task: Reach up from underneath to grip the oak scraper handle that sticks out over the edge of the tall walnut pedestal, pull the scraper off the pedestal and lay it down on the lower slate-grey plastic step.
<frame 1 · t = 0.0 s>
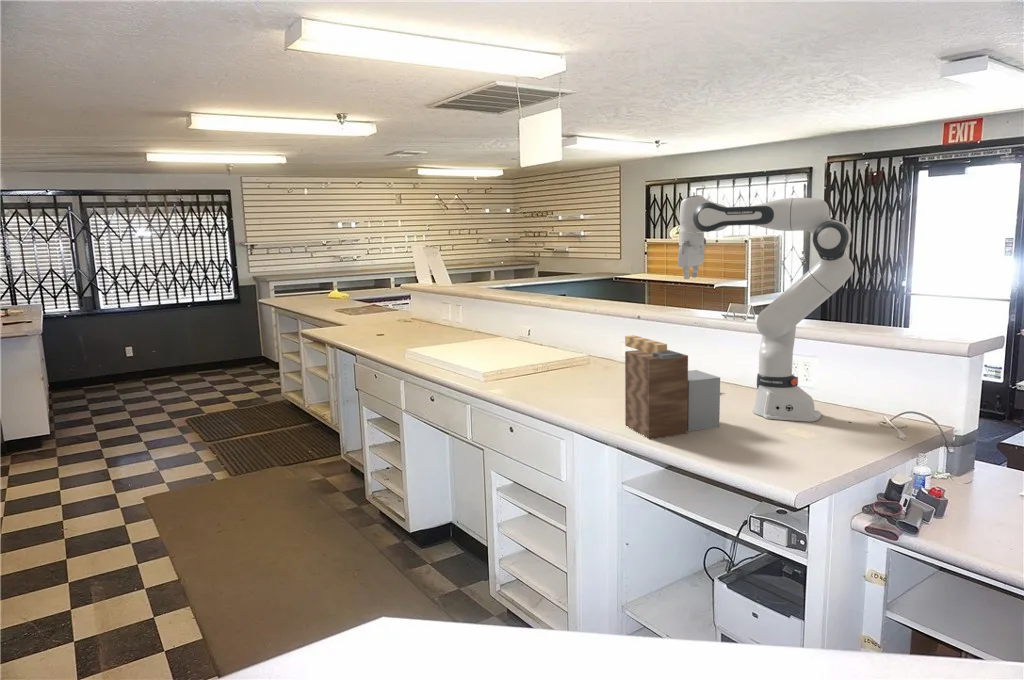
hand: (690, 278, 246), 48 cm above the countertop, tool pointing down, fingers open, 8 cm apart
pedestal: (655, 429, 221), on the countertop
scraper: (649, 351, 221), point 26 cm above the countertop, touching pedestal
step: (692, 423, 227), on the countertop
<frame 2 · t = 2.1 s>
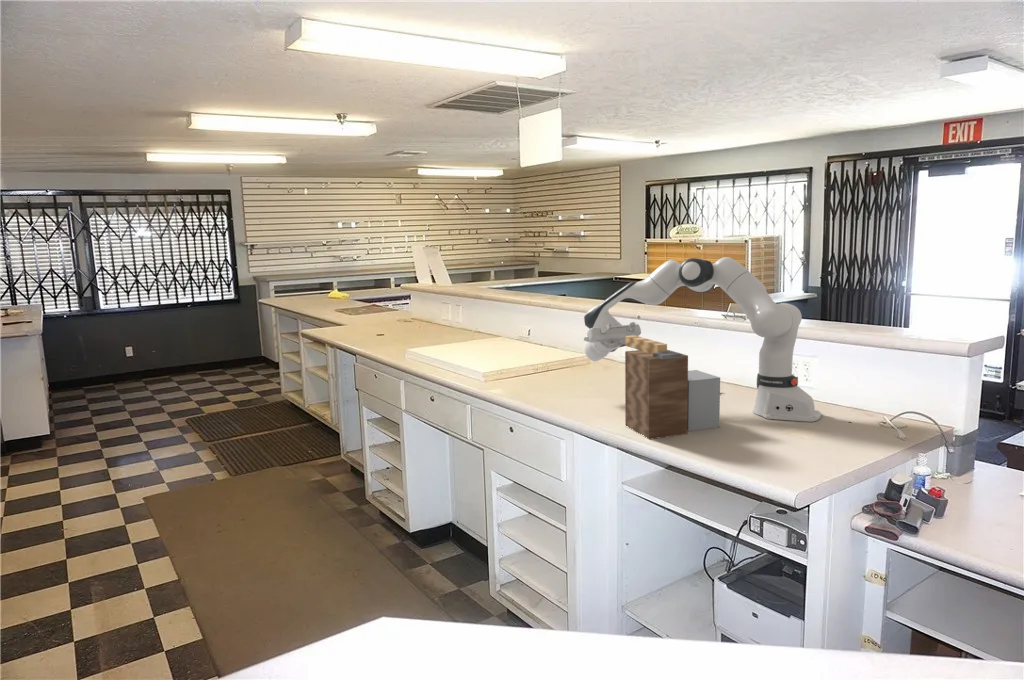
hand: (622, 325, 238), 33 cm above the countertop, tool pointing upward, fingers open, 8 cm apart
nothing on the countertop moved.
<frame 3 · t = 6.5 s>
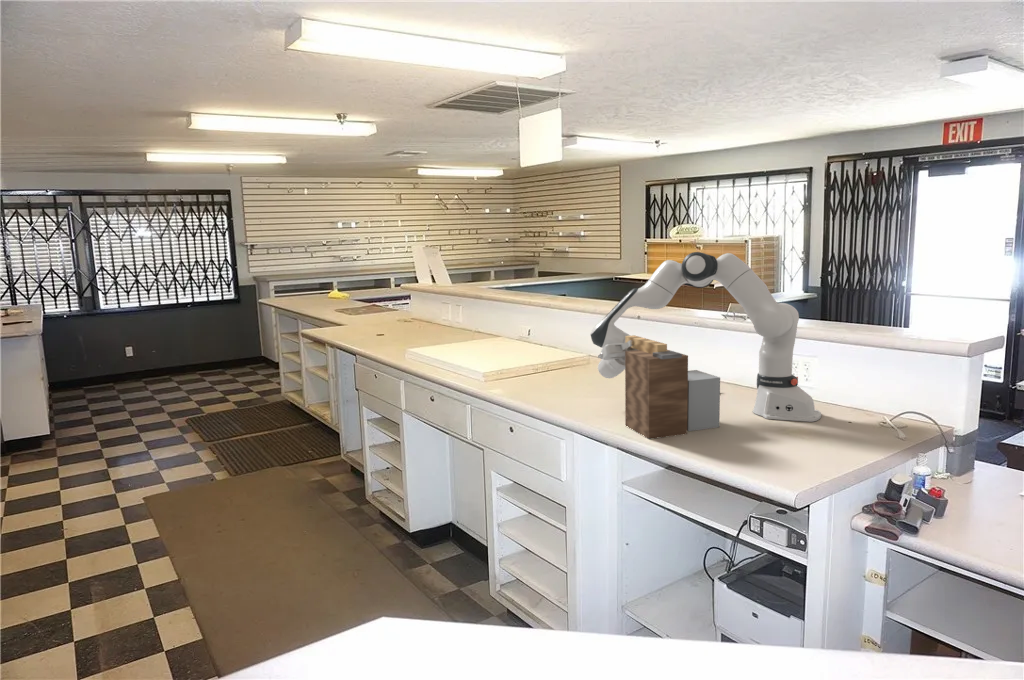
hand: (638, 341, 228), 28 cm above the countertop, tool pointing upward, fingers closed on scraper, 3 cm apart
scraper: (649, 351, 221), point 26 cm above the countertop, touching gripper, pedestal
everything else where it was.
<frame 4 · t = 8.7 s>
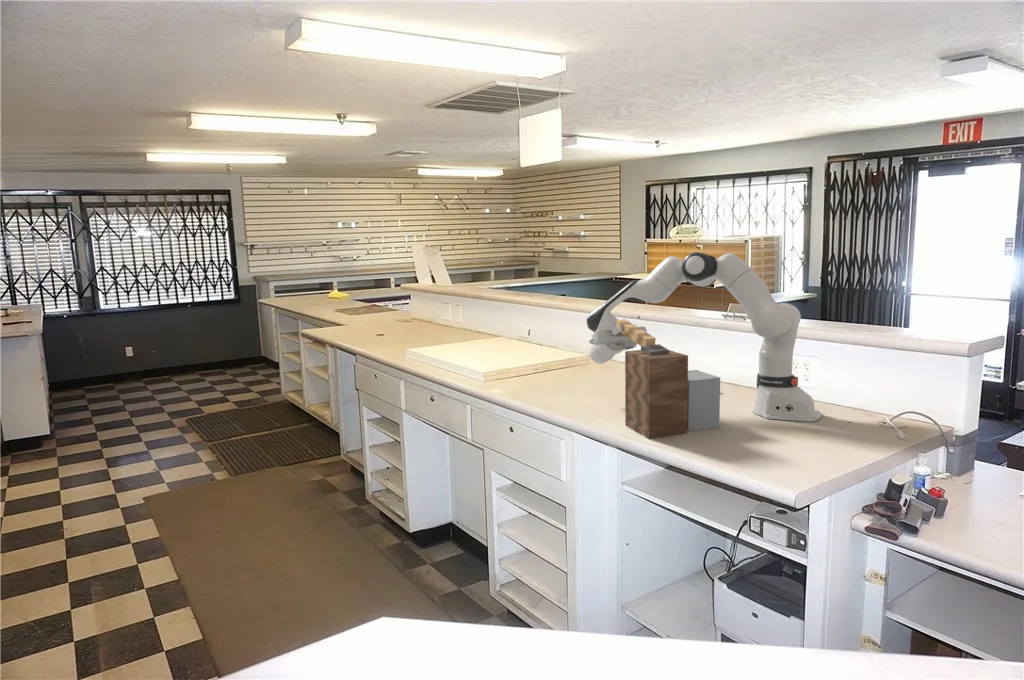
hand: (628, 327, 234), 32 cm above the countertop, tool pointing upward, fingers closed on scraper, 3 cm apart
scraper: (638, 340, 227), point 29 cm above the countertop, tilted 10°, touching gripper
everything else where it was.
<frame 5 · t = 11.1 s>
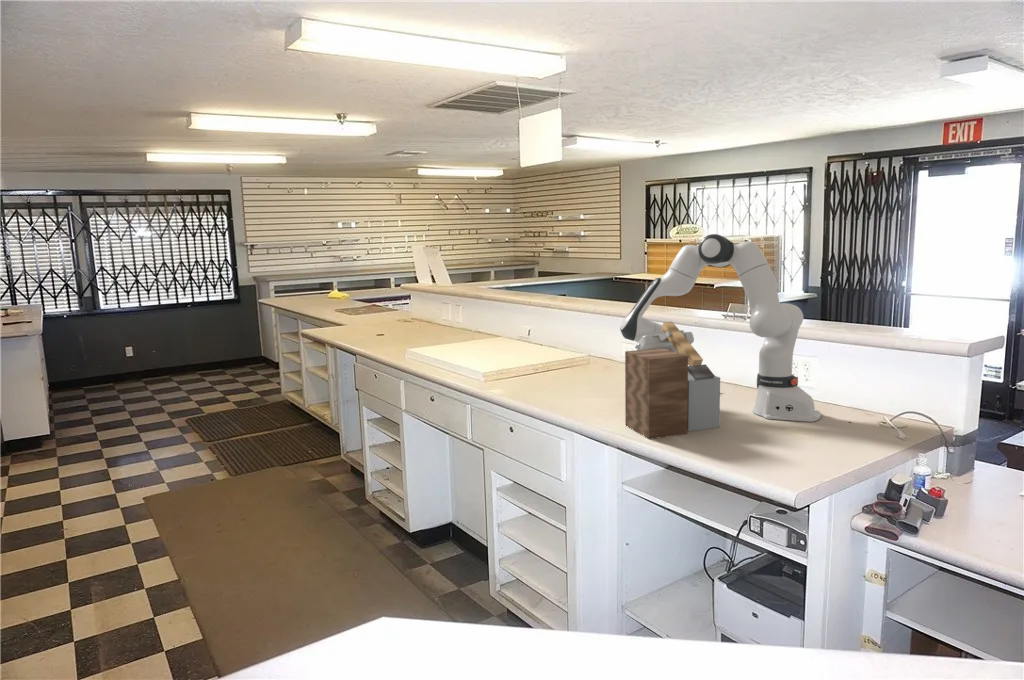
hand: (676, 332, 232), 30 cm above the countertop, tool pointing upward, fingers closed on scraper, 3 cm apart
scraper: (684, 353, 228), point 24 cm above the countertop, tilted 29°, touching gripper
everything else where it was.
when the fingers open (21 cm above the countertop, at t = 12.9 s): scraper stays where it is, resting on step.
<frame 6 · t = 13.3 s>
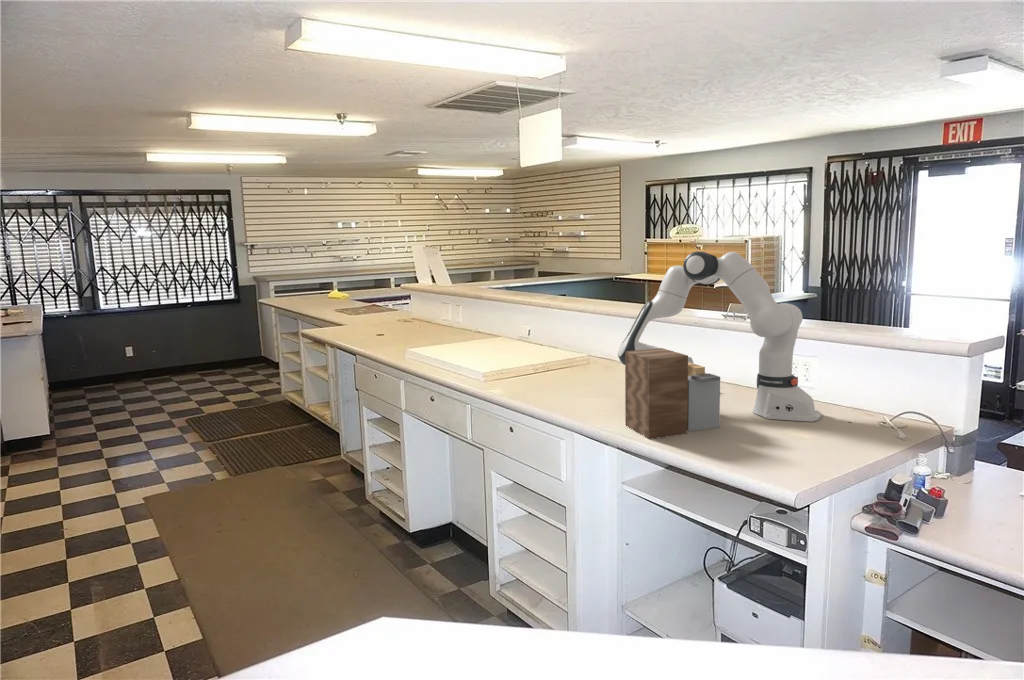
hand: (676, 358, 233), 21 cm above the countertop, tool pointing upward, fingers open, 7 cm apart
scraper: (686, 373, 228), point 17 cm above the countertop, touching step
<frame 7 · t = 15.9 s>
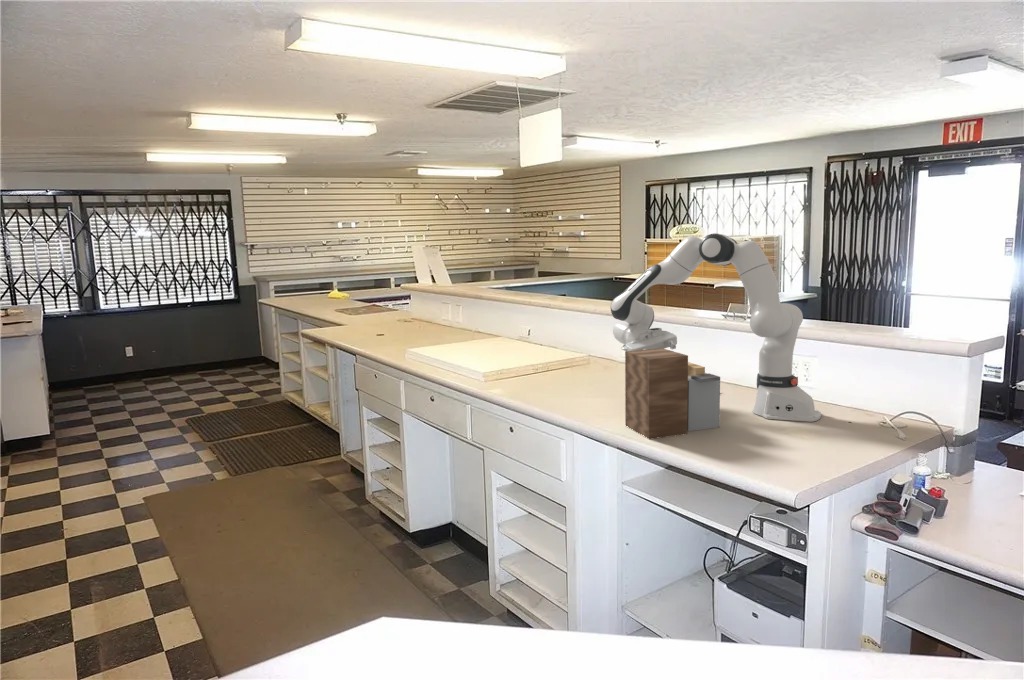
hand: (663, 350, 242), 22 cm above the countertop, tool horizontal, fingers open, 8 cm apart
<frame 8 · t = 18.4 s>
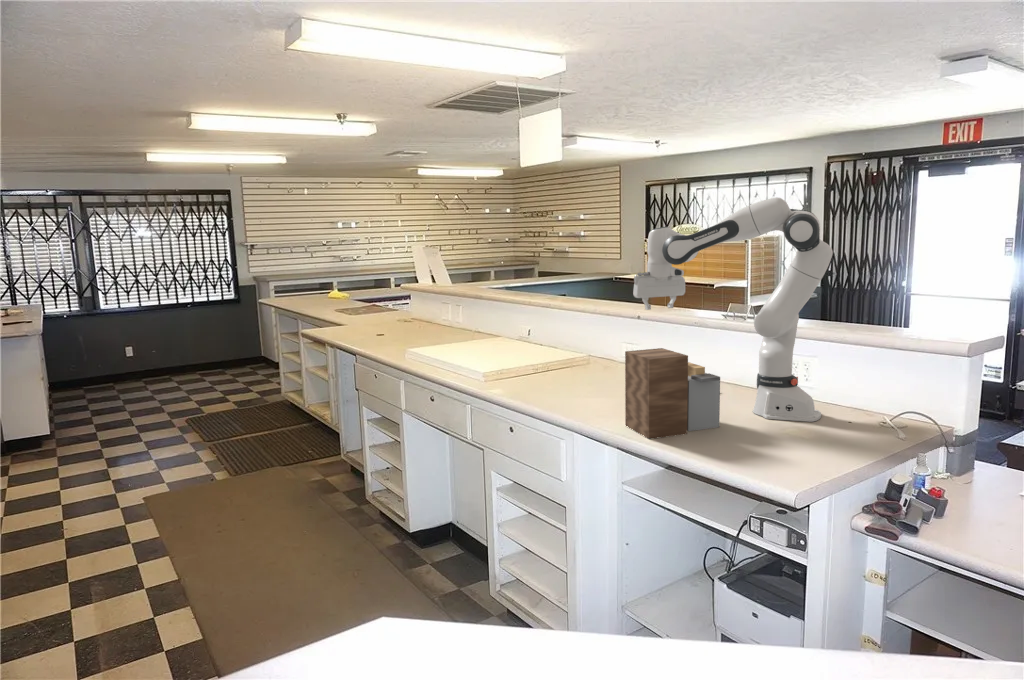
hand: (659, 308, 246), 37 cm above the countertop, tool pointing down, fingers open, 8 cm apart
at the end: scraper inside the target area on the step (0.9 cm from its centre), point 17.0 cm above the step's base; scraper tilted 0°; the gripper is holding nothing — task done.
